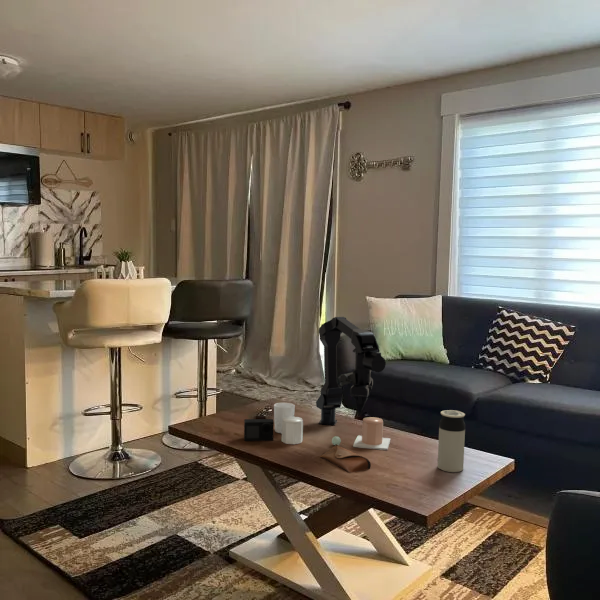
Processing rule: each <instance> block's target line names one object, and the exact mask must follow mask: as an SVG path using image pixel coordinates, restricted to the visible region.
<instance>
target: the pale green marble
mask: <svg viewBox="0 0 600 600" xmlns="http://www.w3.org/2000/svg"><path fill="white" fill-rule="evenodd" d="M341 442H342V440H341V438H340V437H339V436H338V435H335V436H333V437H332V438H331V444H332V445H333V446H335V445H336V444H337V445H339V446H340V444H341Z"/></svg>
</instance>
